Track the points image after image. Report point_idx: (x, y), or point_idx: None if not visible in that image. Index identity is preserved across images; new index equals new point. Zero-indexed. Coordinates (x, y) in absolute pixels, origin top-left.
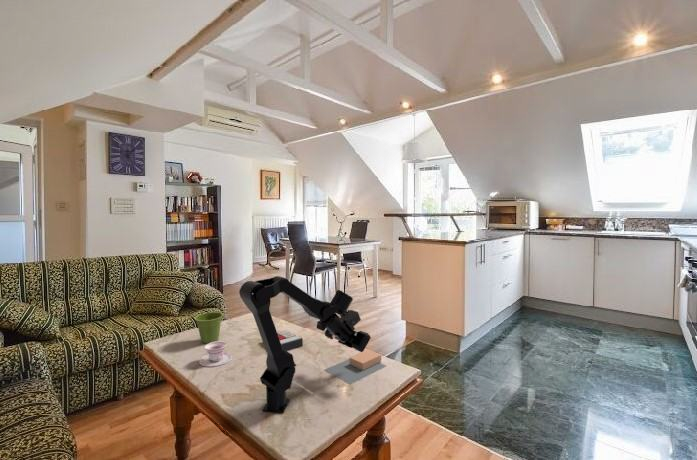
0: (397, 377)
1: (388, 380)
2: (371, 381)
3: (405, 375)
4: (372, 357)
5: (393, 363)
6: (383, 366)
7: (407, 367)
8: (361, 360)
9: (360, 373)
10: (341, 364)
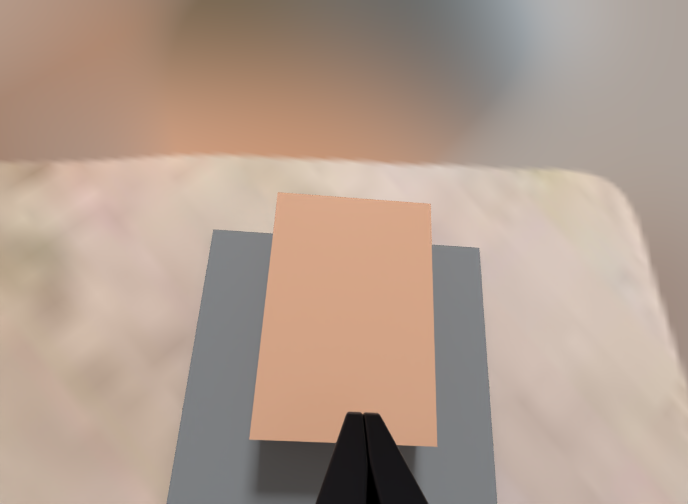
0: (617, 315)
1: (615, 391)
2: (558, 497)
3: (625, 261)
4: (414, 288)
5: (468, 183)
6: (469, 267)
7: (558, 172)
8: (385, 405)
9: (433, 481)
10: (205, 479)
